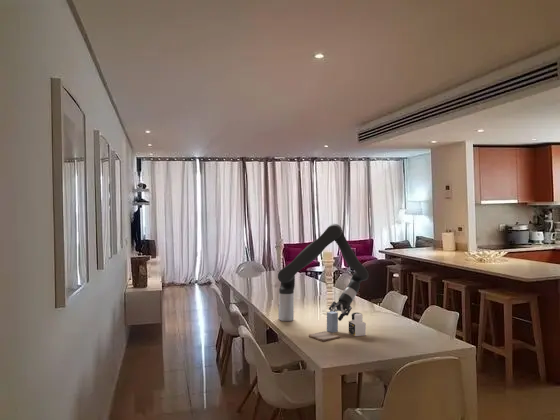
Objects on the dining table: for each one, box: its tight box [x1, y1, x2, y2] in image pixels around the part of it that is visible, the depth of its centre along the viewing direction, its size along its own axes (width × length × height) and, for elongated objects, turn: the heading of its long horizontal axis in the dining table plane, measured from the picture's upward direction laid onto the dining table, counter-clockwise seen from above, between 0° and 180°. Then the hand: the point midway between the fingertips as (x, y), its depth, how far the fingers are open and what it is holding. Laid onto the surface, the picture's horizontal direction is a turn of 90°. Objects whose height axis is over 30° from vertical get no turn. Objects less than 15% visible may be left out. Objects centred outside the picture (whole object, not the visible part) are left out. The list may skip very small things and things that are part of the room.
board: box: [308, 330, 340, 343], centre depth 251 cm, size 12×12×1 cm
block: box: [326, 310, 339, 334], centre depth 263 cm, size 4×4×11 cm
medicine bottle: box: [348, 312, 367, 337], centre depth 257 cm, size 7×7×12 cm
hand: (333, 318), depth 264 cm, fingers open, 8 cm apart
